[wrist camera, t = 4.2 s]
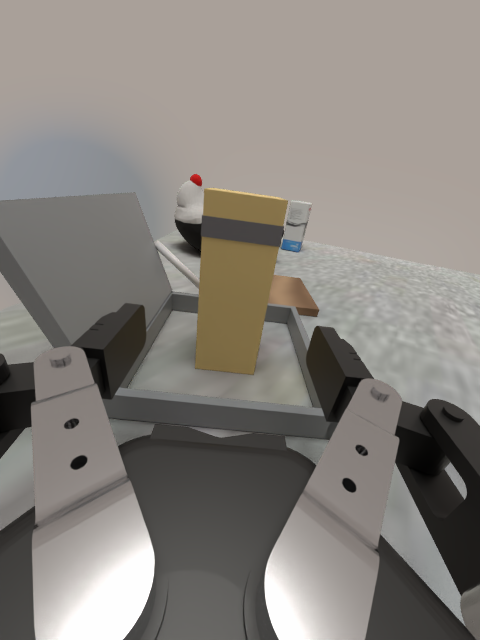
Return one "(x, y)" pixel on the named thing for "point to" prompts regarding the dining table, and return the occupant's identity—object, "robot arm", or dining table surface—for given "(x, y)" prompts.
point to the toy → (191, 211)
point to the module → (235, 276)
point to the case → (128, 287)
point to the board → (292, 295)
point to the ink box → (296, 225)
